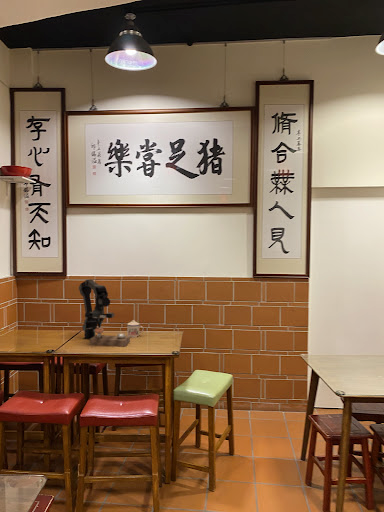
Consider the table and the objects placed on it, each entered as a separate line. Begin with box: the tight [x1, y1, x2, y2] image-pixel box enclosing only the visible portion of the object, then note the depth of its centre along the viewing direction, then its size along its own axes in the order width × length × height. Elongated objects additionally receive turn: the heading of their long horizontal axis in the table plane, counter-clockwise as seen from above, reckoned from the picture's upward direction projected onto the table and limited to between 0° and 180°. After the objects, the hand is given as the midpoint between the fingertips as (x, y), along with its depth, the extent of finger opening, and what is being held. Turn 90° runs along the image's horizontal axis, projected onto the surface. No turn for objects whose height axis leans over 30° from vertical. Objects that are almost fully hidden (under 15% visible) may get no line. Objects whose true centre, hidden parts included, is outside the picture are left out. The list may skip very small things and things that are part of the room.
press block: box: [89, 334, 131, 348], centre depth 266 cm, size 24×12×4 cm, turn 83°
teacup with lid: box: [126, 319, 144, 338], centre depth 288 cm, size 12×9×12 cm
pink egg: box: [95, 327, 104, 338], centre depth 266 cm, size 5×5×6 cm
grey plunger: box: [116, 332, 126, 339], centre depth 265 cm, size 5×5×6 cm
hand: (99, 327), depth 266 cm, fingers closed
